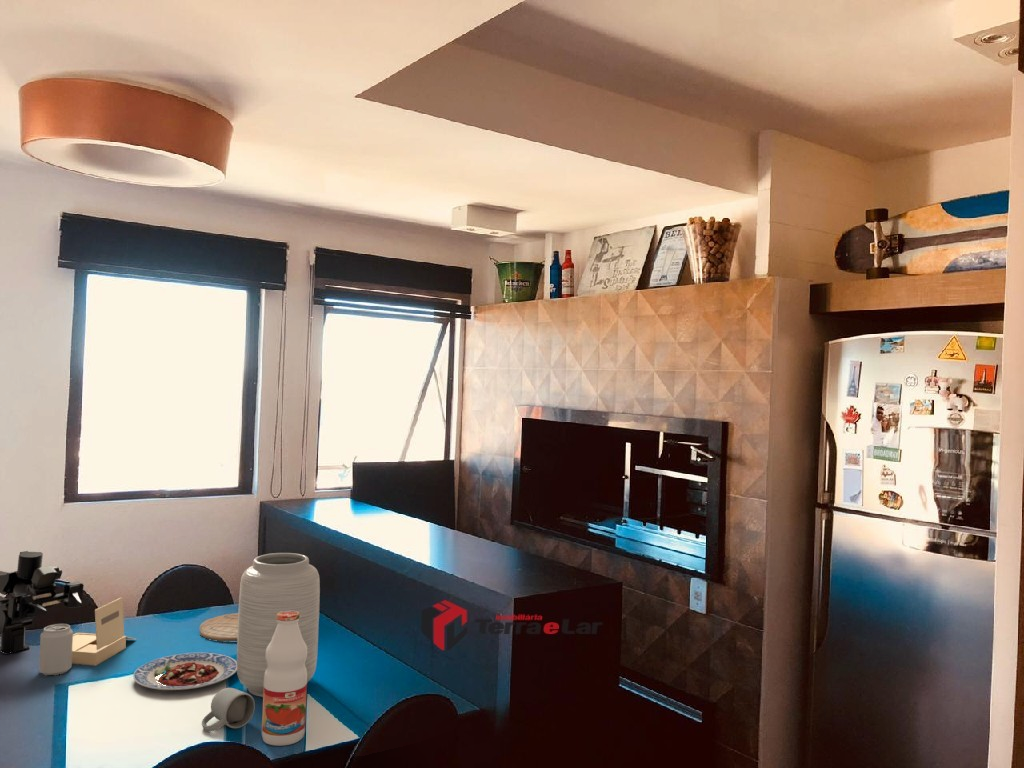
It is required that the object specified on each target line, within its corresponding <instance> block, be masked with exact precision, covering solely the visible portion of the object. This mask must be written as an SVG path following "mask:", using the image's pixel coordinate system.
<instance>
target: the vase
mask: <svg viewBox="0 0 1024 768" xmlns="http://www.w3.org/2000/svg"><path fill="white" fill-rule="evenodd" d="M320 583H321V581H320V574H319V571H318V569H317V568H316V567H315V566H314V565H312V564H310V559H309V557H308V556H307V555H304V554H302V553H301V554H300V553H293V552H275V553H267V554H262V555H259V556H256V557H255V558H254V559H253V561H252V565H251V566H249V567H248V568H246V569H245V570H244V571H243V573H242V575H241V577H240V584H239V585H240V586H239V597H238V612H237V613H238V638H237V642H236V643H237V644H236V662H237V671H236V673H237V678H238V680H239V682H240V684H241V685H243V686H244V687H245V688H246V689H247V690H248V692H249V693H250V694H252V695H254V696H256V697H261V698H263V686H264V675H265V671H266V669H267V662H266V657H265V654H266V649H267V646H268V645H269V643H270V642H271V640H272V637H273V635H274V632H275V630H276V627H277V625H278V622H277V614H278V613H279V612H281V611H287V610H292V611H297V612H299V621H298V626H299V629H300V632H301V635H302V638H303V640H304V642H305V643H306V645H307V658H306V661H305V667H306V670H307V683H308V682H309V681H310V680H311V679H312V678H313V676H314V674H315V672H316V669H317V661H318V650H319V649H318V648H319V646H318V645H319V644H318V643H319V624H320V623H319V622H320V620H319V619H320V599H321V598H320V596H321V595H320V594H321V587H320Z"/></svg>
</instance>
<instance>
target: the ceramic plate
mask: <svg viewBox="0 0 1024 768" xmlns="http://www.w3.org/2000/svg"><path fill="white" fill-rule="evenodd" d="M169 667H170V668H169ZM164 671H166V673H165V674H163V673H164ZM235 673H237V660H236V659H234V658H232V657H230V656H228V655H224V654H220V653H213V652H212V653H211V652H186V653H179V654H178V653H177V654H173V655H167V656H162V657H160V658H155V659H153V660H151V661H148V662H146V663H144V664H142V665H141V666H139V667H138V668H137V669H136V670H135V671H134V672H133V676H132V678H133V681H134V682H136V684H138V685H140V686H142V687H144V688H149V689H152V690H153V689H154V690H159V691H160V690H161V691H180V690H181V691H182V690H190V689H197V688H198V689H199V688H202V687H203V688H204V687H207V686H211V685H214V684H218V683H221V682H223V681H225V680H227V679H228V678H230V677H232V676H233V675H234V674H235ZM160 674H163V675H162V676H161V677H160V678H159V680H157V679H155V677H156V676H158V675H160ZM156 681H158V682H160V683H161V684H160V683H157V682H156ZM158 684H159V685H158ZM162 684H163V685H166V686H163V685H162Z"/></svg>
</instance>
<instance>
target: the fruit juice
mask: <svg viewBox="0 0 1024 768" xmlns="http://www.w3.org/2000/svg"><path fill="white" fill-rule="evenodd" d="M298 621H299V612H297V611H292V610H287V611H281V612H279V613H278V614H277V622H278V625H277V627H276V630H275V632H274V635H273V637H272V640H271V642H270V643H269V645H268V646H267V649H266V654H265V657H266V662H267V669H266V671H265V675H264V686H263V697H262V718H261V738H262V740H263V742H264V743H265V744H267V745H269V746H277V747H278V746H279V747H281V746H282V747H283V746H290V745H293V744H296V743H298V742H299V741H301V740H302V739H303V738H304V736H305V733H306V714H307V713H306V712H307V710H306V709H307V688H308V682H307V670H306V667H305V661H306V658H307V645H306V643H305V642H304V640H303V638H302V635H301V632H300V629H299V626H298Z"/></svg>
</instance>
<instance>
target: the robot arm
mask: <svg viewBox="0 0 1024 768" xmlns="http://www.w3.org/2000/svg"><path fill="white" fill-rule="evenodd" d="M43 555H44V553H43V552H42V551H28V550H26V551H25V550H24V551H20V552H19V554H18V561H17V570H14V571H10V572H7V571H2V570H0V594H1V595H0V633H1V636H0V651H2V652H4V653H9V654H11V653H10V652H13V653H16V652H15V651H17V652H20V651H19V650H22V651H25V650H24V649H26V650H30V647H31V646H29V645H27V644H26V643H25V642H26V627H32V626H34V623H35V619H36V617H41V616H46V615H48V610H47V609H49V608H52V607H54V605H55V604H57V605H58V604H61V603H63V605H64V606H65V607H67V608H68V609H69V608H80V607H82V604H83V595H84V586H85V585H84V584H83V582H80V581H74V582H71V583H66V584H65V585H64V586H63V592H61V593H57V592H56V591H55V590H57V584H55V582H56V580H60V579H61V578H62V575H63V569H61V568H60V567H59V566H56V565H47V566H43ZM11 594H12V595H11ZM2 595H3V596H2ZM7 595H10V597H9V598H6V597H4V596H7Z"/></svg>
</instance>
